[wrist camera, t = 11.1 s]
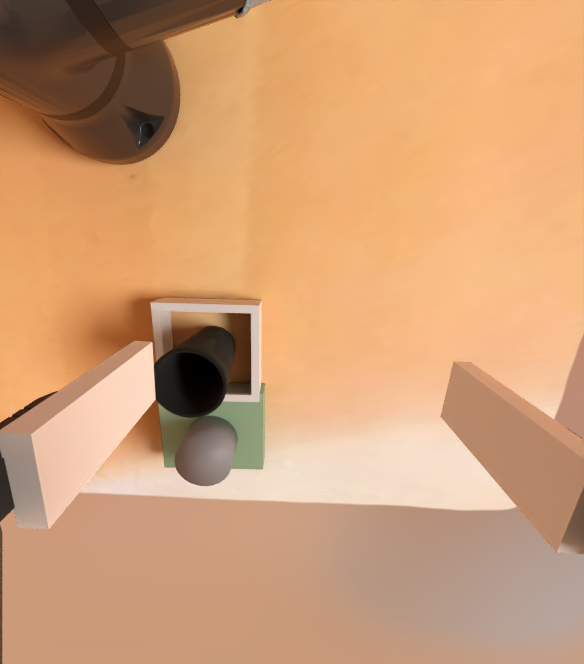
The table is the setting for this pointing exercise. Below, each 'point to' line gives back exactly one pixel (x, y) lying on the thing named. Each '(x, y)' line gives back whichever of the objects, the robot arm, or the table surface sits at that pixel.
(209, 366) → the cup
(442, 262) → the table surface
